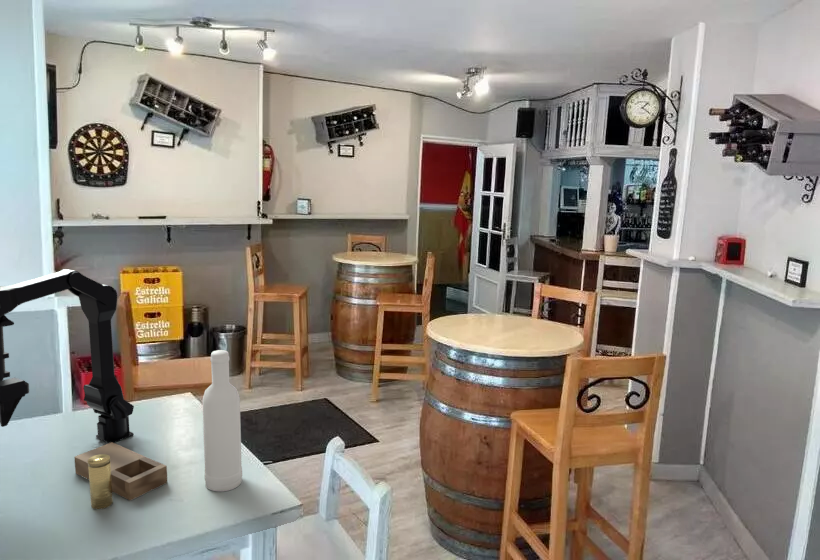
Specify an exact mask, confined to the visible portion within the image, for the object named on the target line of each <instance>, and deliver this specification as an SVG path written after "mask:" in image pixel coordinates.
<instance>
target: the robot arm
mask: <svg viewBox="0 0 820 560" xmlns="http://www.w3.org/2000/svg"><path fill="white" fill-rule="evenodd" d="M64 291H68V292H70V293H71V294H73V295H74V296H76V297H77V298H78V300H79V303H80V307H81V310H82V312H83V315H85V318H86V319H87V322H88V331H89V345H90V358H91V359H90V360H91V361H90V362H91V372H92V373H91V374H92V375H91V376H92V377H91V380H90V382H89V384H84V385H83V388H82V389H83V392H84V396H83V401H84V402H86V404H87V405H86V406H88V407H89V408H91V409H92V411H93V413H94V414H98V415H97V418H98V421H97V423H96V427H97V428H96V429H97V434H96V435H95V438H96V439H98V440H100V441H103V442H105V443H106V444H108V443H111V442H113V443H116V442H120V441H121V440H125V439H127V438H130V437H132V436H134V432H132V431H130V419H129V416H131V415H133V413H134V408H135V406H134V405H133V404H132V403H130V402H129V401H127V400H126V399H124V398H125V397H124V395H123V389H122V386H121V384H120V382H119V381H118V379H117V378H116V375H115V364H114V363H115V362H114V348H113V347H114V346H113V333H112V330H113V329H112V319H113V316H114V314H116V310H117V306H118V292H117V289H115V288H114V287H113V286H111V285H107V284H102V283H100V282H98V281H96V280H93V279H91V278H89V277H87V276H86V275H84V274H83V273H81V272H80V271H77V270H73V269H68V268H65V269H64V268H63V269H61V270H60V271H57V272H53V273H50V274H46V275H43V276H39V277H36V278H32V279H29V280H24V281H21V282H19V283H15V284H11V285H1V286H0V427H6V426H8V425H9V423H10V422H11V421H10V420H11V419H12V417H13V414H14V413H15V411H16V409H17V406H18V405H19V404H20V401H21V400H22V398H24V397H25V396H26V395H27V394H29V393H30V383H28V382H27V381H26V380H23V379H20V378H18V377H12V378H11V371H7V370H6V362H5V361H6V360H5V359H9V358H10V353H9V352H6V351H5V344H4V343H5V342H4V339H5V338H4V327H10V326H11V327H12V326H14V324H15V322H14V321H13V320H11V319H9V318H8V317H7V316H6V315H7V314H9V313H11V312H13V311H14V310H15V309H16V308H17V307H18V306H21V305H22V304H25V303H28V302H31V301H35V300H37V299H38V300H39V299H40V298H41V299H42V298H44V297H47V296H51V295H54V294H57V293H61V292H64ZM5 378H7V379H5Z"/></svg>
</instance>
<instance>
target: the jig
mask: <svg viewBox="0 0 820 560" xmlns="http://www.w3.org/2000/svg"><path fill="white" fill-rule="evenodd" d="M100 454H106V455H109V456H110V465H111V480H112V493H115V494H116V495H118V496H120V497H123V499H126V500H127V501H133V500H134V499H137V498H139V497H141V496H143V495H145V494H147V493H149V492H152V491H153V490H155V489H158V488H159V487H162V486H163V485H166V484H168V467H167V465H165V464H163V463H161V462H158V461H156V460H154V459H152V458H149V457H147V456H145V455H144V454H143V455H142V454H140V453H138V452H136V451H133V450H131V449H129V448H127V447H124V446H122V445H120V444H117V443H116V442H114V443H113V442H111V443H106V444H104V445H101V446H98V447H95V448H93V449H91V450H89V451H88V450H87V451H85V452H83V453H80V454H77V455H75V456H74V457H73V459H74V469H75V474H76V475H78V476H80V475H81V476H80V477H82V476H83V477H82V478H84V477H85V478H84V479H86V478H87V479H86V480H88V479H89V469H88V459H89V458H91V457H92V456H95V455H100Z"/></svg>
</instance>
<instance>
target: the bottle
mask: <svg viewBox="0 0 820 560" xmlns="http://www.w3.org/2000/svg"><path fill="white" fill-rule="evenodd" d="M230 358H231V357H230V353H229V352H228V350H224V349H217V350H213V351H212V352H211V354H210V363H211V365H210V367H211V368H210V369H211V384H210V385H209V386H208V387H207V388H206V389H205V390H204V393H203V396H202V402H201V403H202V425H203V427H202V429H203V431H202V432H203V450H204V452H203V453H204V454H203V455H204V456H203V457H204V481H205V487H206V489H208V490H210V491H213V492H228V491H232V490H234V489H236V488H238V486H240V485H241V484H242V482H243V466H242V431H241V429H242V428H241V398H240V397H241V396H240V394H239V392H238V389H237V387H236V386H234V385H233V384H232V383H231V382H230Z"/></svg>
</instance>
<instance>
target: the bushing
mask: <svg viewBox="0 0 820 560" xmlns="http://www.w3.org/2000/svg"><path fill="white" fill-rule="evenodd" d="M88 469H89V480H88V481H89V493H90V506H91V509H94V510H103V509H107V508H109V507H110V506H112V505H113V503H114V498H113V492H112V480H111V465H110V456H109V455H106V454H100V455H95V456H92V457H91V458H89V459H88Z"/></svg>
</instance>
